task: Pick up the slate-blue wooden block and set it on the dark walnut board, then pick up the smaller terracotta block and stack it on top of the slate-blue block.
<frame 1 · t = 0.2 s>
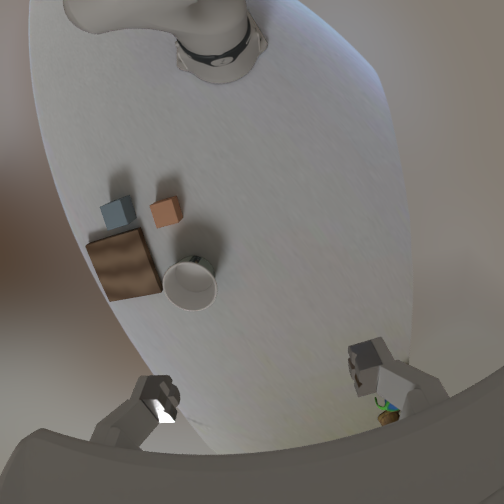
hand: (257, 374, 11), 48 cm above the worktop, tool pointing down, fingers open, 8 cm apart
slate block: (123, 209, 57), on the worktop
wooden mug: (392, 411, 87), on the worktop
food container: (195, 273, 63), on the worktop
terracotta block: (169, 209, 57), on the worktop
snack cup: (390, 381, 78), on the worktop
walnut board: (124, 265, 62), on the worktop
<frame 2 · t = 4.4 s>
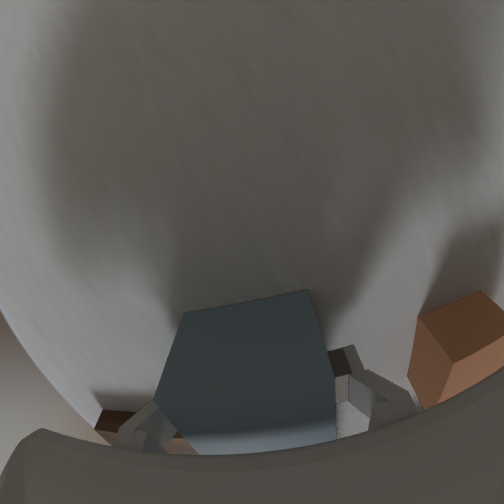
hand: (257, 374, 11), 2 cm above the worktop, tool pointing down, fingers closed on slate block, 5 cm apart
slate block: (257, 349, 13), on the worktop, touching gripper
terracotta block: (444, 334, 13), on the worktop
walnut board: (232, 460, 18), on the worktop
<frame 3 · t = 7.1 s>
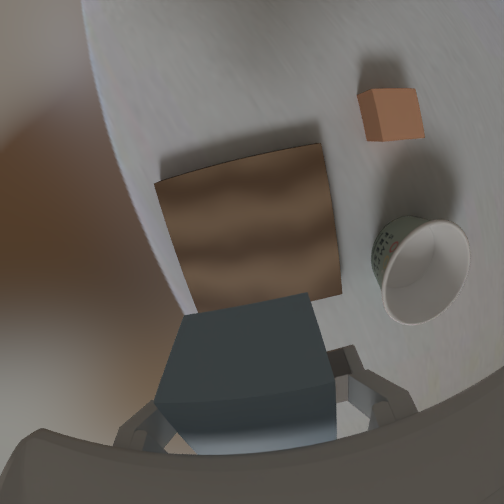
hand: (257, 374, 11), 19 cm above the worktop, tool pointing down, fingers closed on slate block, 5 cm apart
slate block: (257, 351, 13), point 17 cm above the worktop, touching gripper
food container: (403, 252, 29), on the worktop
terracotta block: (382, 116, 23), on the worktop
walnut board: (254, 235, 28), on the worktop
when the fingers open (5 cm above the worktop, at t = 9.9 s): slate block drops 1 cm, resting on walnut board.
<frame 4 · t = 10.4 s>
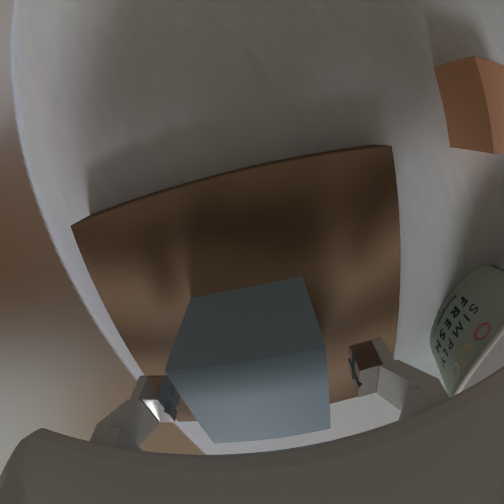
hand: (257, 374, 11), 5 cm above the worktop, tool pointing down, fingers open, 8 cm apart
slate block: (257, 331, 14), point 2 cm above the worktop, touching walnut board
food container: (469, 314, 17), on the worktop
terracotta block: (467, 107, 11), on the worktop
walnut board: (256, 311, 16), on the worktop
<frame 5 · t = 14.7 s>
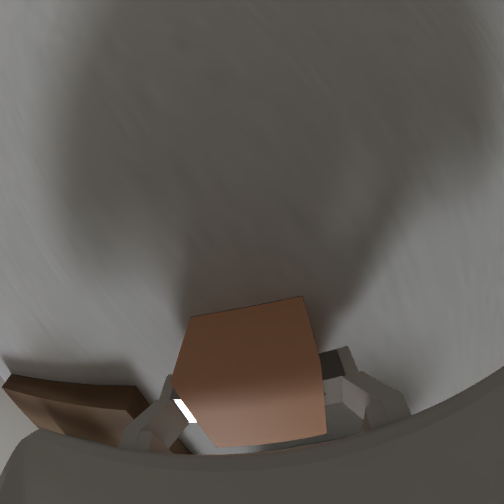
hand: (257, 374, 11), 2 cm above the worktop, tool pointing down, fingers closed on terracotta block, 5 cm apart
terracotta block: (257, 349, 13), on the worktop, touching gripper
walnut board: (108, 438, 18), on the worktop
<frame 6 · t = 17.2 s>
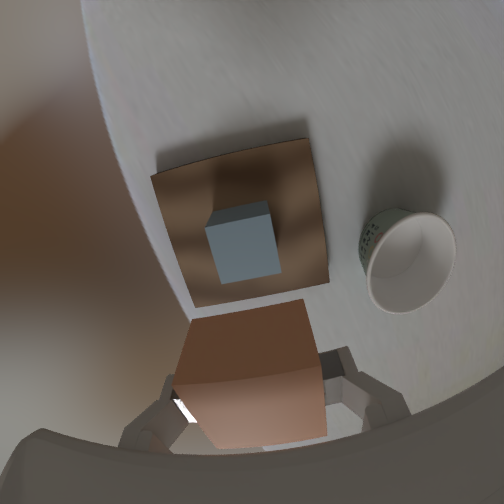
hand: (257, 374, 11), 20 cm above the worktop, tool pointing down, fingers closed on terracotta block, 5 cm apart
slate block: (245, 231, 28), point 2 cm above the worktop, touching walnut board
food container: (390, 243, 31), on the worktop
terracotta block: (258, 351, 13), point 19 cm above the worktop, touching gripper
walnut board: (245, 225, 30), on the worktop
when the fingers open (10 cm above the worktop, at t = 19.5 s): terracotta block drops 1 cm, resting on slate block.
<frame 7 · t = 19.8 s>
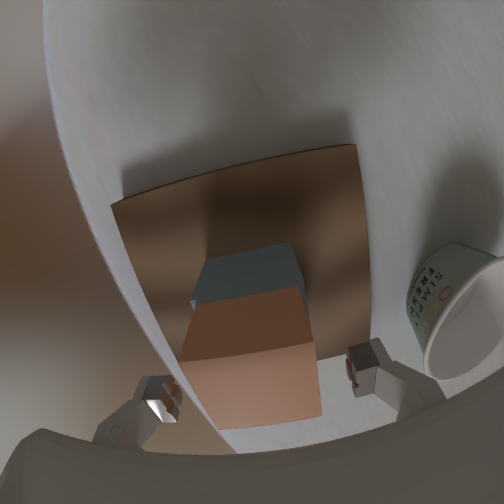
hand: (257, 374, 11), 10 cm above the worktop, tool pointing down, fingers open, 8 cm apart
slate block: (256, 288, 18), point 2 cm above the worktop, touching terracotta block, walnut board
food container: (443, 287, 21), on the worktop
terracotta block: (257, 336, 14), point 7 cm above the worktop, touching slate block
walnut board: (255, 275, 20), on the worktop
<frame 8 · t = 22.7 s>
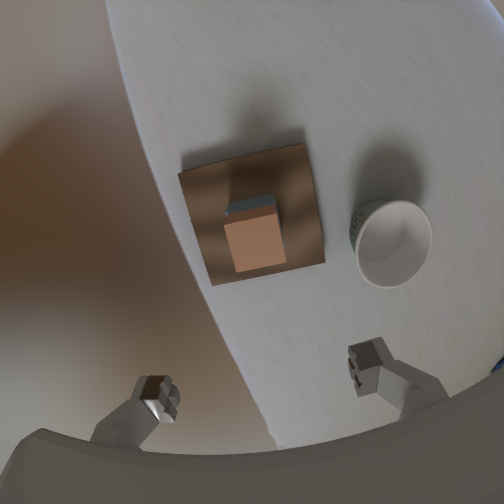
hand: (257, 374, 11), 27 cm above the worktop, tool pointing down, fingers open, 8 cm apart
slate block: (255, 218, 34), point 2 cm above the worktop, touching terracotta block, walnut board
food container: (377, 230, 37), on the worktop
terracotta block: (255, 231, 30), point 7 cm above the worktop, touching slate block
snack cup: (498, 365, 53), on the worktop
walnut board: (255, 214, 36), on the worktop
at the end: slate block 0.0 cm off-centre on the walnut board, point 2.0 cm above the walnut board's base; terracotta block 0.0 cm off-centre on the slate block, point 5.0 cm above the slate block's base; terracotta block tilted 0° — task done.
